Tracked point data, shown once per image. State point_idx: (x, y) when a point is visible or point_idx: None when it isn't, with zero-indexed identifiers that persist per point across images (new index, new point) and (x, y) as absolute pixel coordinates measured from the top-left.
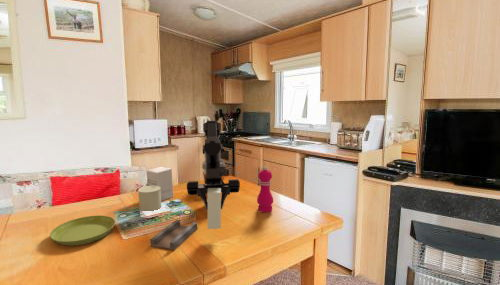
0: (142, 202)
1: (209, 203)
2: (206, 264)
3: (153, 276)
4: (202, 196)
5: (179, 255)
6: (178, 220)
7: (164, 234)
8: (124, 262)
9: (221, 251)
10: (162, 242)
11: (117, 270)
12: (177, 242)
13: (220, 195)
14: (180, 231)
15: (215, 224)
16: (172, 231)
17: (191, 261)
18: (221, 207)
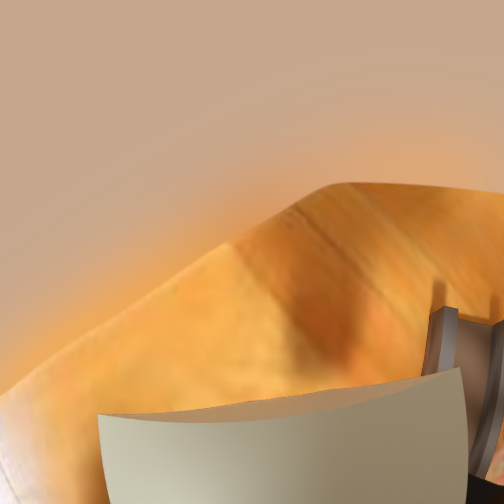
0: None
1: (350, 391)
2: (291, 243)
3: (413, 195)
4: (473, 475)
5: (400, 288)
6: None
7: (493, 384)
8: (501, 246)
9: (247, 322)
10: (480, 349)
11: (491, 218)
12: (437, 335)
13: (143, 415)
14: None
15: (279, 398)
16: (474, 435)
17: (347, 256)
18: None
